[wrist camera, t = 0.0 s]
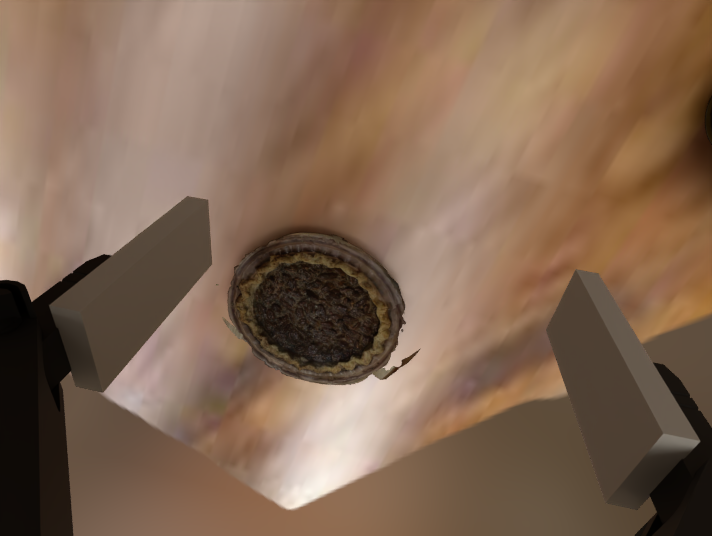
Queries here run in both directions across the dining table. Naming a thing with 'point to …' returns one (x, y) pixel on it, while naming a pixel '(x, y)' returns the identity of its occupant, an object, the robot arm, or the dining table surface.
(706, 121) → the apothecary jar
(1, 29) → the dining table surface
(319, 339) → the pie
